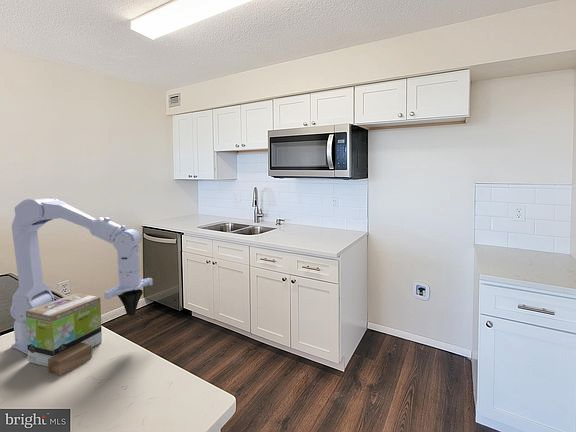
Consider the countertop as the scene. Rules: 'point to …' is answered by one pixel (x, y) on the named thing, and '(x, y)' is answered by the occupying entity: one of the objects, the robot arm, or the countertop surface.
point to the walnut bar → (69, 358)
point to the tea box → (62, 326)
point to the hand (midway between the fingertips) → (131, 314)
